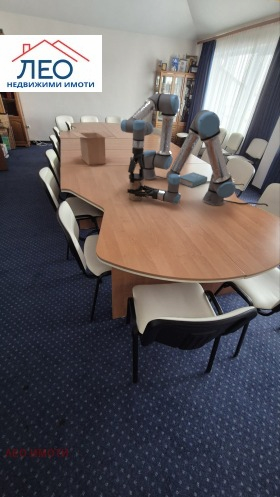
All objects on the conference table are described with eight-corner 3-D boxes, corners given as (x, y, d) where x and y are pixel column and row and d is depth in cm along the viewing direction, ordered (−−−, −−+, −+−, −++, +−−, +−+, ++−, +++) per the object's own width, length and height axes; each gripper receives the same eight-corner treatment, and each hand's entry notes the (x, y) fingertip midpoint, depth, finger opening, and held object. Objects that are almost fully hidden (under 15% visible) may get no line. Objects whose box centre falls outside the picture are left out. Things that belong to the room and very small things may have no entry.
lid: (125, 177, 157) (125, 175, 156) (136, 174, 164) (136, 172, 163) (136, 182, 152) (137, 179, 150) (147, 178, 158) (147, 176, 157)
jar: (126, 197, 166) (126, 176, 156) (135, 194, 172) (136, 173, 162) (135, 201, 161) (136, 179, 151) (144, 198, 167) (146, 176, 157)
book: (192, 177, 213) (193, 172, 210) (206, 182, 204) (207, 177, 201) (177, 182, 200) (178, 176, 197) (192, 187, 191) (193, 182, 188)
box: (116, 165, 229) (116, 136, 213) (83, 168, 214) (80, 137, 198) (102, 154, 259) (101, 128, 243) (71, 156, 244) (68, 129, 228)
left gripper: (142, 143, 155) (140, 174, 168) (123, 149, 139) (122, 183, 152) (151, 145, 152) (149, 177, 165) (132, 151, 136) (131, 185, 149)
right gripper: (152, 205, 151) (123, 198, 158) (163, 194, 168) (136, 188, 175) (153, 195, 147) (123, 188, 153) (164, 184, 164) (136, 179, 170)
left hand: (136, 180), depth 158 cm, fingers closed on lid, 11 cm apart
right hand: (130, 188), depth 164 cm, fingers closed on jar, 10 cm apart
